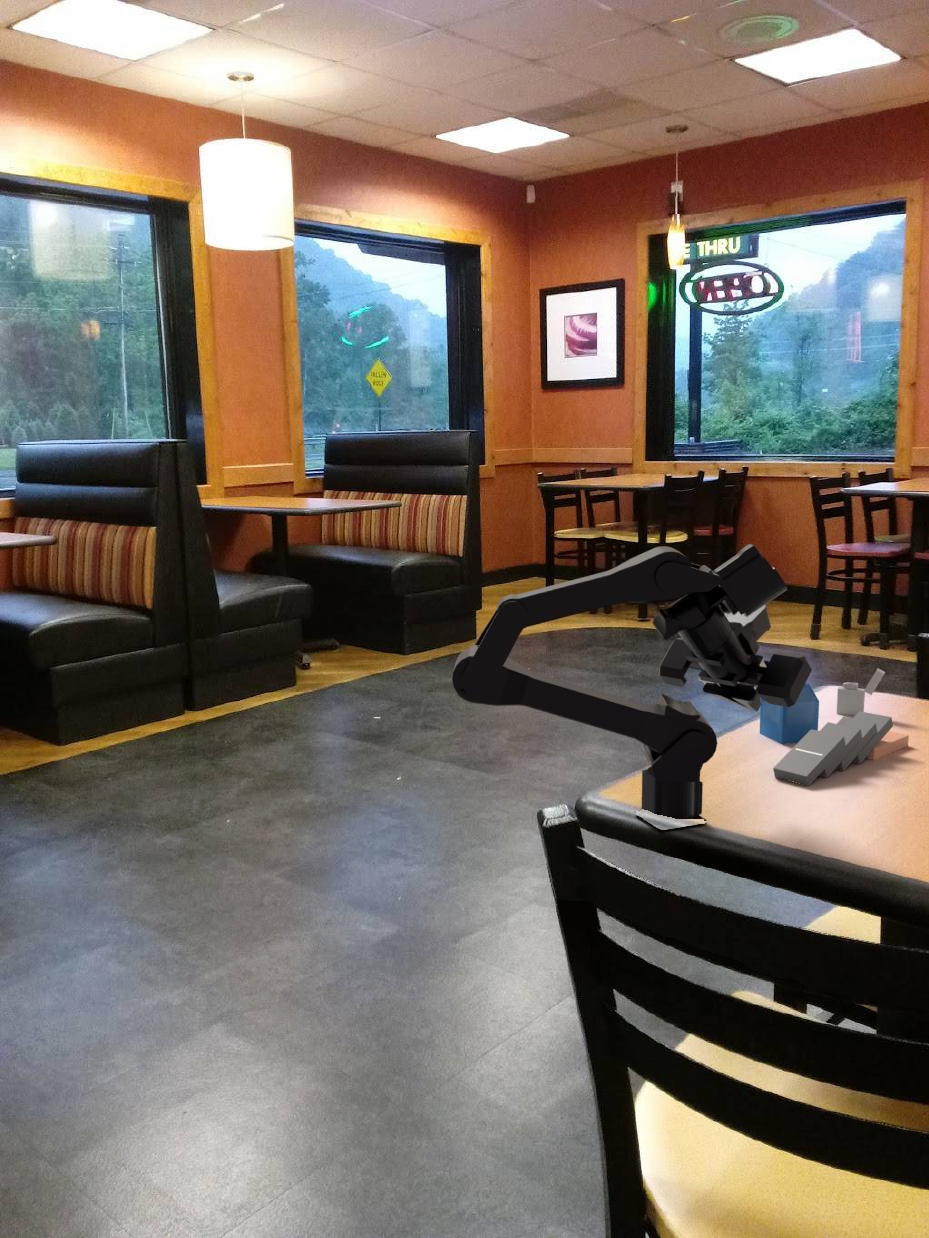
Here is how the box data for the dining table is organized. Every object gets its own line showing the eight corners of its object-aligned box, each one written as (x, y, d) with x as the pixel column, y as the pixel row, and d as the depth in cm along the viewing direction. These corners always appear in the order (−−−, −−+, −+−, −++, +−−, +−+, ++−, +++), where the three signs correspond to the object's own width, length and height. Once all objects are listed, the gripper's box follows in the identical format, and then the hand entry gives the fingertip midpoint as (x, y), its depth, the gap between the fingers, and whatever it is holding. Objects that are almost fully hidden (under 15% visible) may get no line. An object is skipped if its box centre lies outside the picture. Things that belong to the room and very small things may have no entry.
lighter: (836, 713, 177) (838, 666, 175) (837, 711, 178) (840, 664, 177) (881, 718, 174) (884, 670, 172) (882, 715, 175) (885, 668, 174)
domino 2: (824, 768, 143) (860, 728, 149) (791, 760, 147) (827, 722, 152) (826, 778, 144) (862, 738, 149) (793, 770, 148) (829, 731, 153)
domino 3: (841, 761, 146) (875, 722, 152) (808, 754, 150) (843, 716, 155) (843, 771, 147) (877, 732, 152) (810, 763, 150) (844, 725, 156)
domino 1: (806, 776, 140) (844, 736, 146) (773, 767, 144) (811, 729, 149) (808, 786, 141) (845, 746, 146) (775, 777, 144) (812, 738, 150)
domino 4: (858, 754, 149) (891, 717, 154) (825, 747, 153) (859, 711, 158) (859, 764, 150) (893, 726, 155) (827, 756, 153) (860, 720, 159)
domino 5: (874, 748, 152) (908, 735, 158) (842, 741, 155) (877, 728, 162) (873, 760, 152) (908, 745, 158) (841, 752, 156) (876, 738, 162)
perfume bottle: (781, 744, 160) (784, 666, 158) (759, 733, 166) (762, 658, 164) (817, 740, 162) (820, 663, 160) (794, 730, 167) (797, 655, 165)
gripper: (806, 589, 122) (849, 668, 132) (674, 576, 136) (721, 648, 145) (767, 666, 118) (814, 742, 128) (634, 644, 132) (685, 714, 141)
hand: (756, 708), depth 136 cm, fingers closed
